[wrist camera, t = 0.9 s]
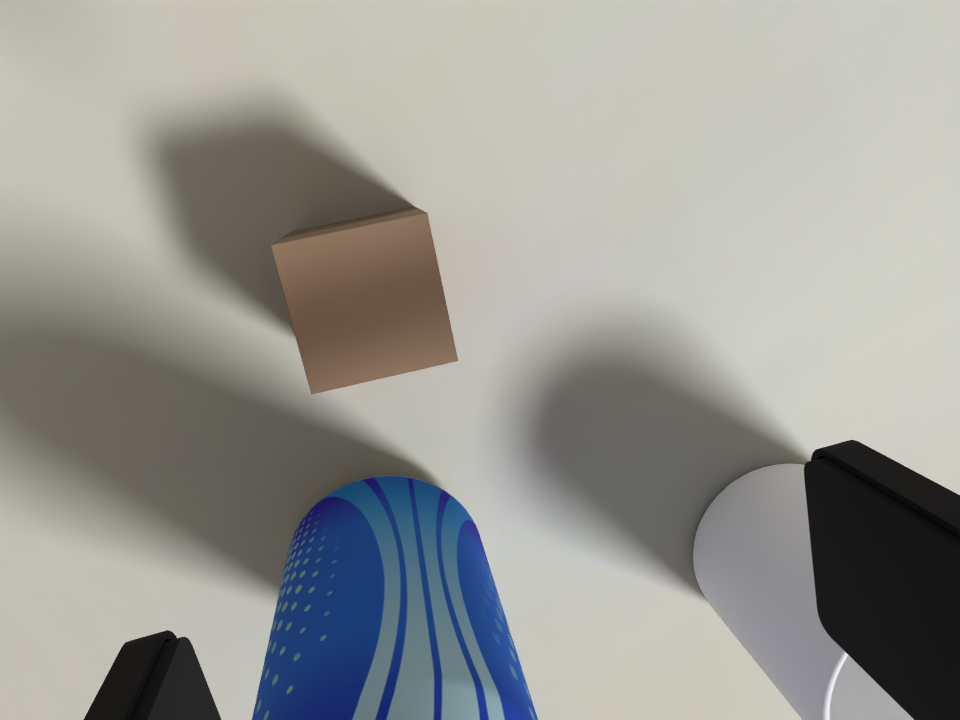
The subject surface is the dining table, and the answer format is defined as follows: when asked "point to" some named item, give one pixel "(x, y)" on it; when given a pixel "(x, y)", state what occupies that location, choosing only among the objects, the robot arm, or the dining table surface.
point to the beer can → (390, 614)
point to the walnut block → (365, 298)
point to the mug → (780, 596)
